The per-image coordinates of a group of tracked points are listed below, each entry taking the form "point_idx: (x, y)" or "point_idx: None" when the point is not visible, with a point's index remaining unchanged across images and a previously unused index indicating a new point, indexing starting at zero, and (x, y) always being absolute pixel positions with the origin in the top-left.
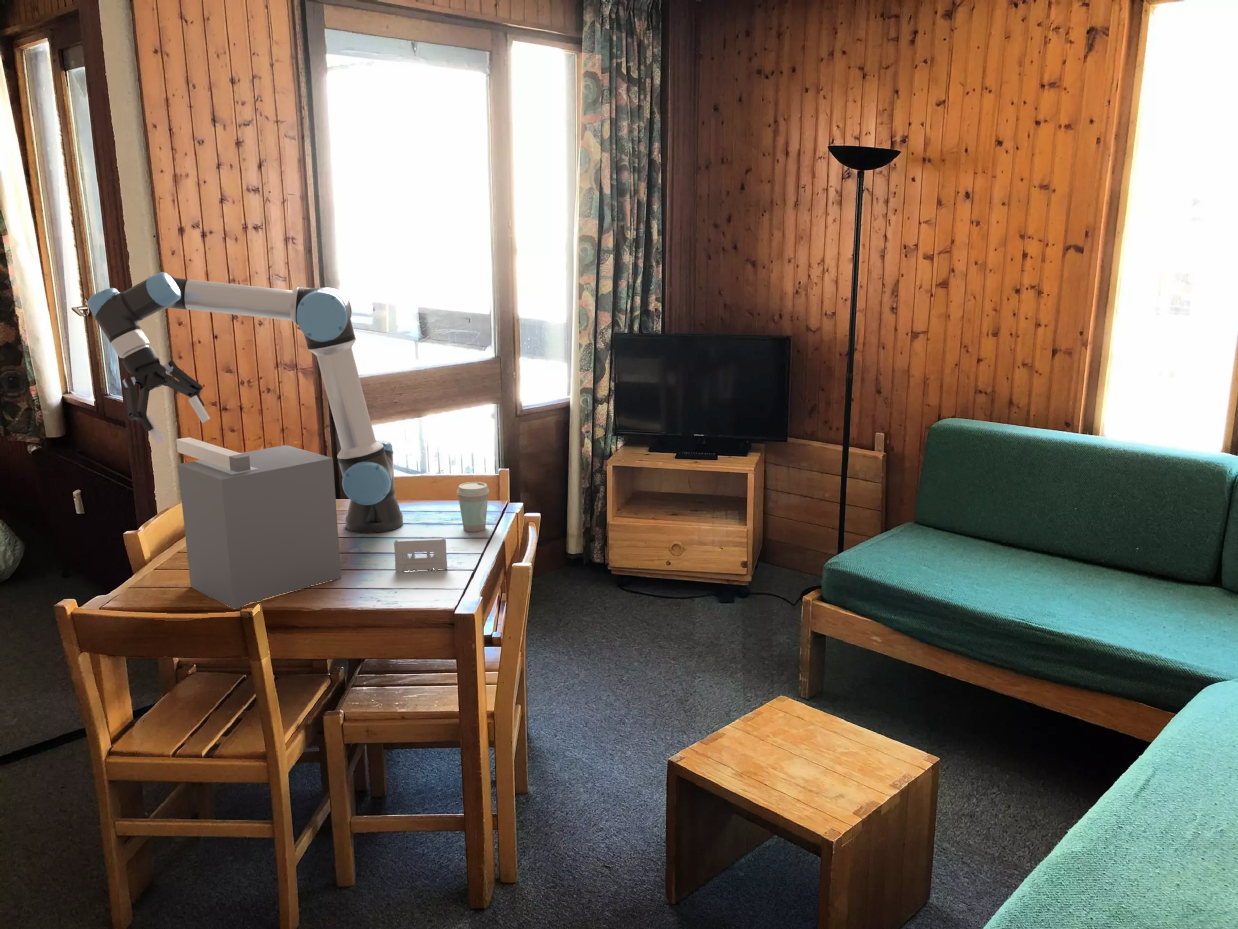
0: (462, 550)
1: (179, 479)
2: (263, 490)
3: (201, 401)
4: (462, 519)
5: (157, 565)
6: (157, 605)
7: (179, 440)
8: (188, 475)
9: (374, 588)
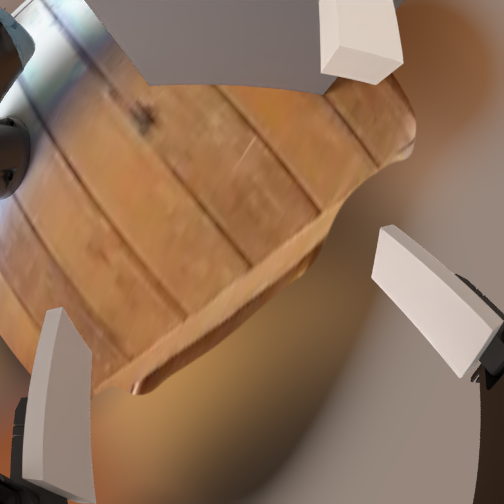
0: (36, 10)
1: (401, 2)
2: None
3: (19, 431)
4: None
5: (308, 228)
6: None
7: (398, 36)
8: None
9: None
